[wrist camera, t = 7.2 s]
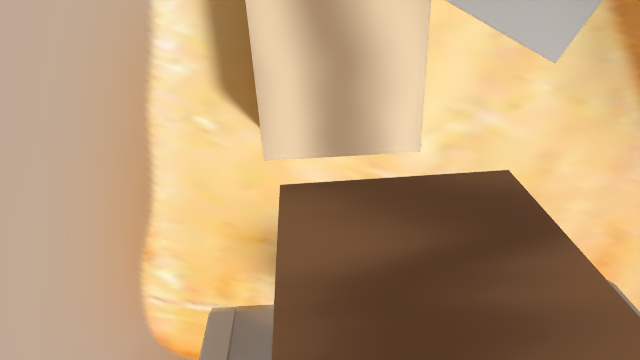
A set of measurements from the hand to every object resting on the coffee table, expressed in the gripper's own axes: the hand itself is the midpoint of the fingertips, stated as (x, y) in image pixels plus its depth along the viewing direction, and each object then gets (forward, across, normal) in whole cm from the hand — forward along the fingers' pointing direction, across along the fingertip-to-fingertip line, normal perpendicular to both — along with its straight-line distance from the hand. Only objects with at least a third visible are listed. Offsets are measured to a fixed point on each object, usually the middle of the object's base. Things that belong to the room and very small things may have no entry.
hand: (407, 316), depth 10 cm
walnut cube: (+2, 0, 0) cm, 2 cm away
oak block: (+21, 0, 0) cm, 21 cm away
